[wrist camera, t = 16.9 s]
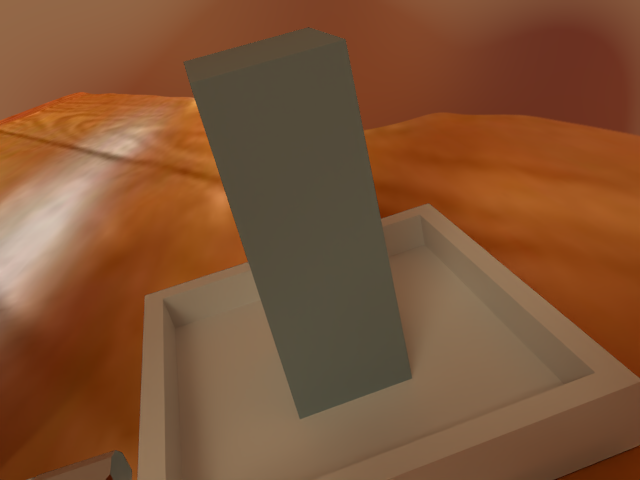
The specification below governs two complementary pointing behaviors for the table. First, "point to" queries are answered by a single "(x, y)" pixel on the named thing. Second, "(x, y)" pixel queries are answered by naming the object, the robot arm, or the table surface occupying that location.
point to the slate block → (306, 211)
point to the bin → (395, 401)
